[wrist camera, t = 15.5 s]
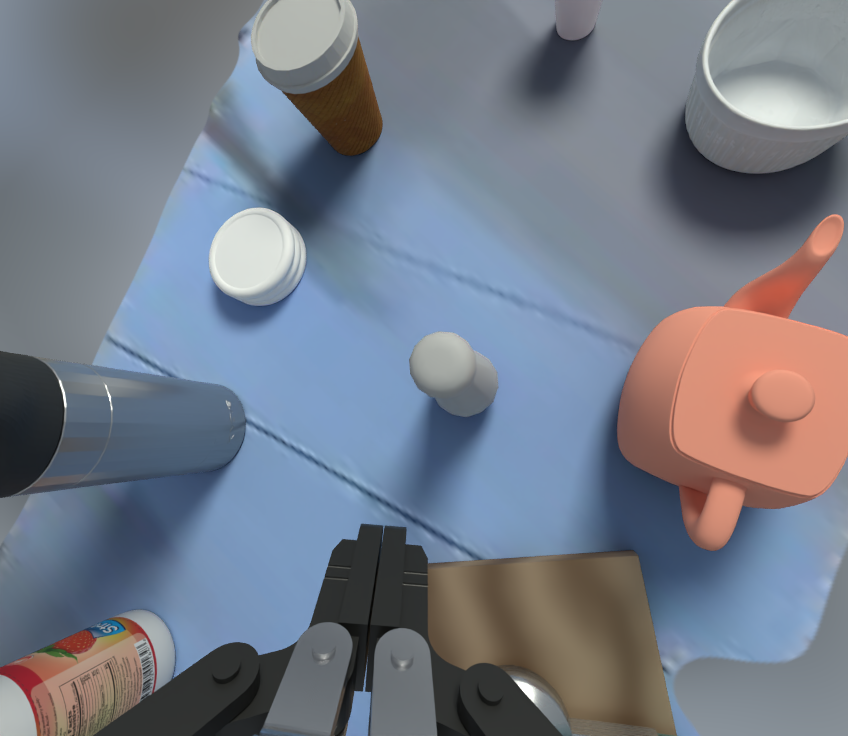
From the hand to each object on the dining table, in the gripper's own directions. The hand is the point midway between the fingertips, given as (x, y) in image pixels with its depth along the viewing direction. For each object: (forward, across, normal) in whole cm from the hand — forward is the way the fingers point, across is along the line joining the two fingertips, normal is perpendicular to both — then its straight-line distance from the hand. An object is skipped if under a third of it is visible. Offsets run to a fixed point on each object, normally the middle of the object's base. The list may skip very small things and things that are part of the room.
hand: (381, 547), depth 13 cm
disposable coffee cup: (+40, +8, -20) cm, 45 cm away
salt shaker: (+24, -6, +3) cm, 25 cm away
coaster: (+35, +17, -5) cm, 39 cm away
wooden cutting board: (+12, -11, +25) cm, 30 cm away
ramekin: (+29, -28, -22) cm, 46 cm away
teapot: (+20, -23, 0) cm, 31 cm away
